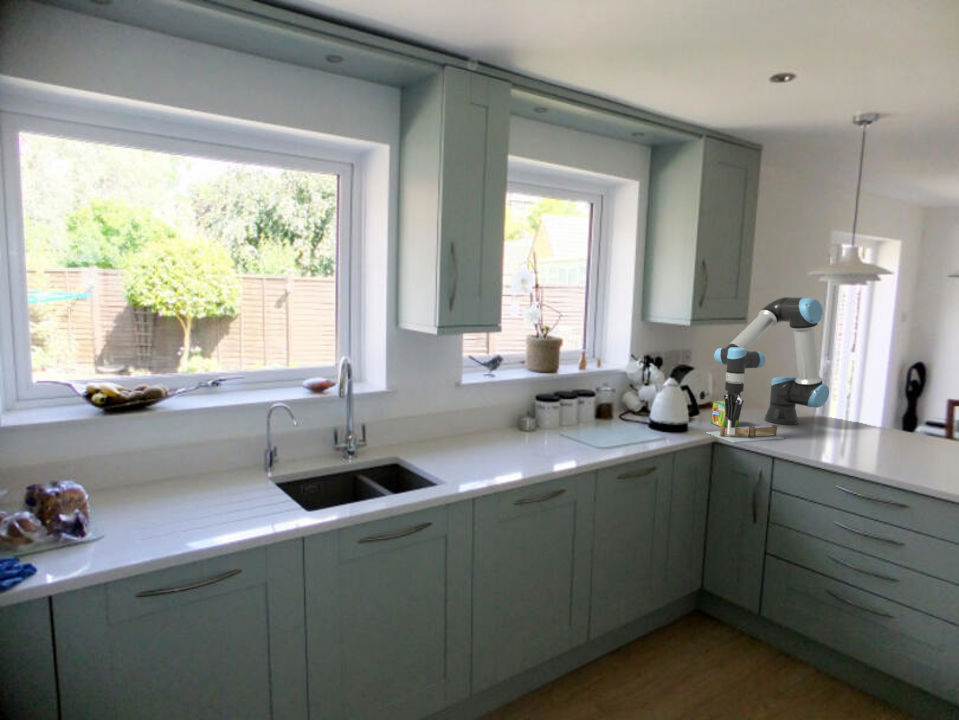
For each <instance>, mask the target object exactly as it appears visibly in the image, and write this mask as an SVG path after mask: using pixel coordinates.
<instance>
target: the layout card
mask: <svg viewBox="0 0 959 720" xmlns="http://www.w3.org/2000/svg"><path fill="white" fill-rule="evenodd" d="M705 433H706V434H708V435H710V434H711V435H710V436H713V435H714V437H716V438H719V439H723V440H725V441H726V442H727V441H728V442H730V443H733V444H735V443H736V444H737V443H747V442H750V443H751V442H761V441H773V440H784V439H785V437H783V436H779V435H777V434H776V436H773V435H771V436H757V437H755V436H754V438H751V437H739V436H720V430H718V431H717V430H716V431H706V432H705ZM748 434H749V428H748Z"/></svg>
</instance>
